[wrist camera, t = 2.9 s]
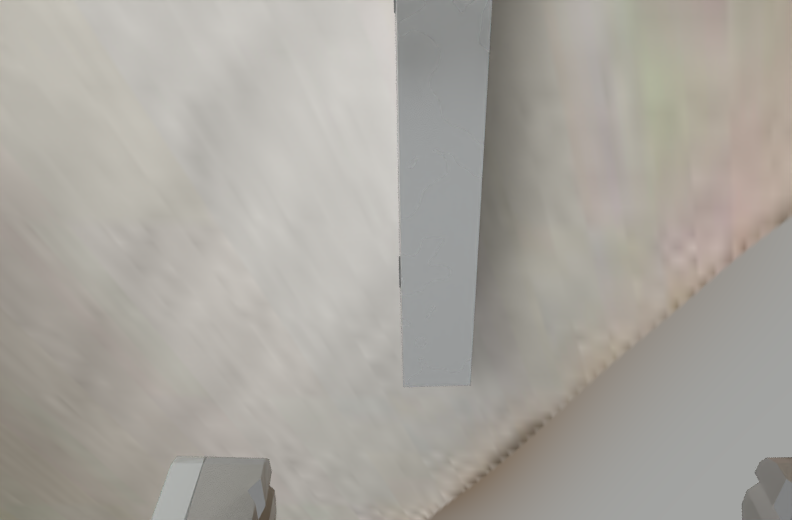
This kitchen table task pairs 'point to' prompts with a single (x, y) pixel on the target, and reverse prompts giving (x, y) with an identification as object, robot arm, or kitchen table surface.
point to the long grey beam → (440, 181)
